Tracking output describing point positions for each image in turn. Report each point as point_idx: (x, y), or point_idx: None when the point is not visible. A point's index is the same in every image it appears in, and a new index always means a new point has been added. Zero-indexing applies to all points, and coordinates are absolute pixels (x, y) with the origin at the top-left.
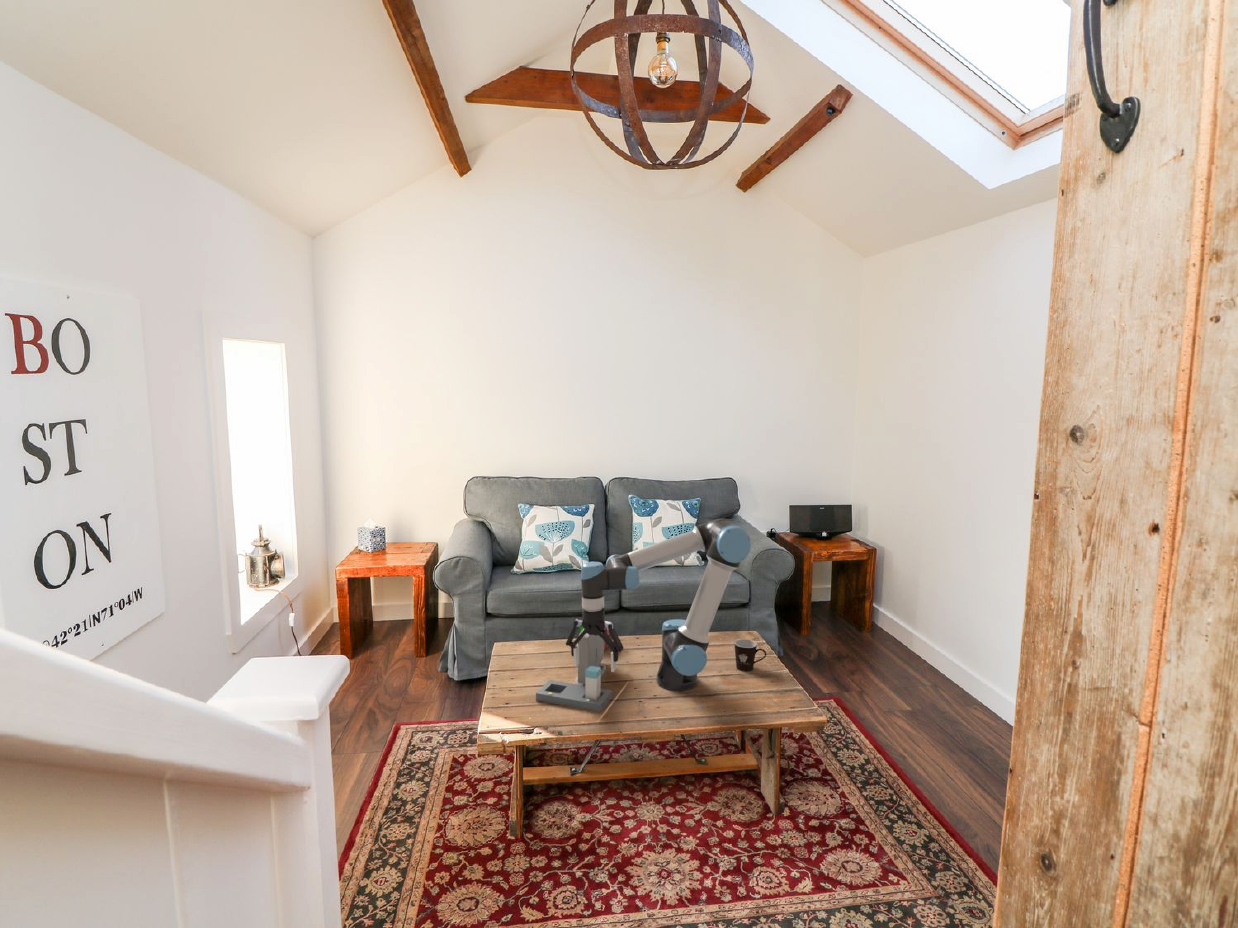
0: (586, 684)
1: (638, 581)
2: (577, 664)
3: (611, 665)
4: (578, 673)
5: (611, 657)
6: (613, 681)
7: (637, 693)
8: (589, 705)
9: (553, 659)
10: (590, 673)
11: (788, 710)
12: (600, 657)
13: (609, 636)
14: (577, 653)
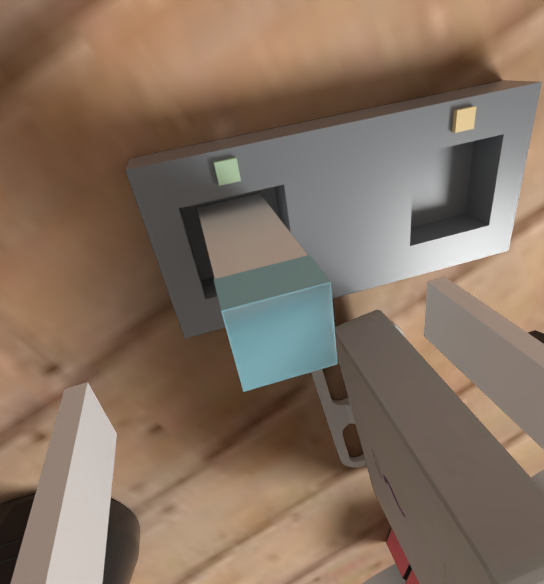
0: (283, 235)
1: None
2: (430, 311)
3: (72, 433)
4: (399, 336)
5: (47, 532)
6: (265, 415)
7: (117, 406)
8: (203, 150)
9: None
10: (275, 283)
11: None
12: (376, 484)
13: (406, 568)
14: (504, 382)
